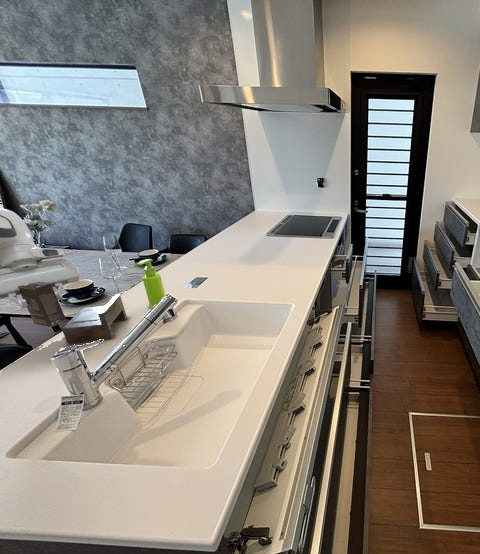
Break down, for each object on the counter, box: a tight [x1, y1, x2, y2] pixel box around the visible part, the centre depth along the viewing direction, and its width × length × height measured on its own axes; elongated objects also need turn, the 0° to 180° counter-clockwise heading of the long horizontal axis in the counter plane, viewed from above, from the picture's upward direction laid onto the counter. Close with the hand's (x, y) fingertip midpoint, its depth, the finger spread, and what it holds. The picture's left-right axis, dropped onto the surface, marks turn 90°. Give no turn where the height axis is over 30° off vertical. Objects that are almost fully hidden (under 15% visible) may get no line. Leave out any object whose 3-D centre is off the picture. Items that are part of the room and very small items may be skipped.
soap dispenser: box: [136, 258, 166, 309], centre depth 121 cm, size 6×7×20 cm
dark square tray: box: [61, 294, 128, 345], centre depth 105 cm, size 12×14×10 cm
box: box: [18, 282, 67, 328], centre depth 86 cm, size 6×4×12 cm
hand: (42, 302), depth 85 cm, fingers closed on box, 5 cm apart
